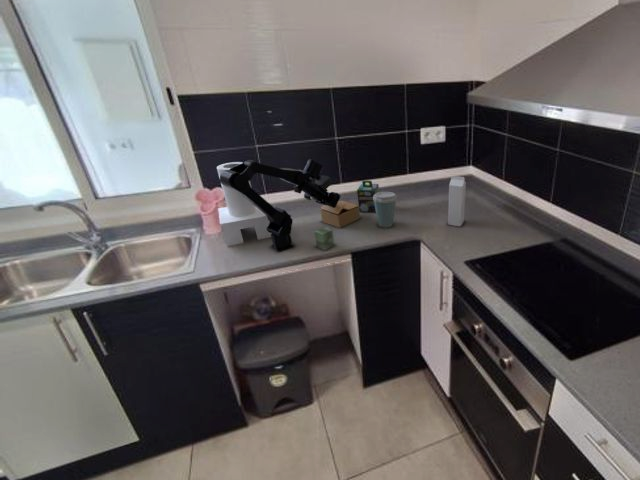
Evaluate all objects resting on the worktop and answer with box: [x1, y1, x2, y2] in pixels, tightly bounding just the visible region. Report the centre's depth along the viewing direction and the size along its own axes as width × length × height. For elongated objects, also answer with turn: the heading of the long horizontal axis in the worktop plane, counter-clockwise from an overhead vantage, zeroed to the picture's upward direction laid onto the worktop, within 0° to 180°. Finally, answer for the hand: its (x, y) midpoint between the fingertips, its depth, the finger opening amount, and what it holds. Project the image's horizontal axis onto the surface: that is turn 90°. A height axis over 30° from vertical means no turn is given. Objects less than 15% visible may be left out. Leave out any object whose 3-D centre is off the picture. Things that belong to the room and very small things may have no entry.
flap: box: [320, 200, 346, 215], centre depth 172 cm, size 6×12×1 cm
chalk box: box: [356, 180, 380, 213], centre depth 187 cm, size 9×9×15 cm
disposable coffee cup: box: [373, 191, 398, 228], centre depth 170 cm, size 11×11×15 cm
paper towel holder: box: [216, 161, 272, 247], centre depth 160 cm, size 19×19×30 cm
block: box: [314, 226, 335, 251], centre depth 154 cm, size 5×5×7 cm
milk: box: [447, 175, 467, 227], centre depth 169 cm, size 6×6×22 cm
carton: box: [320, 200, 361, 229], centre depth 177 cm, size 13×12×7 cm
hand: (333, 204), depth 172 cm, fingers closed, pressing on flap
